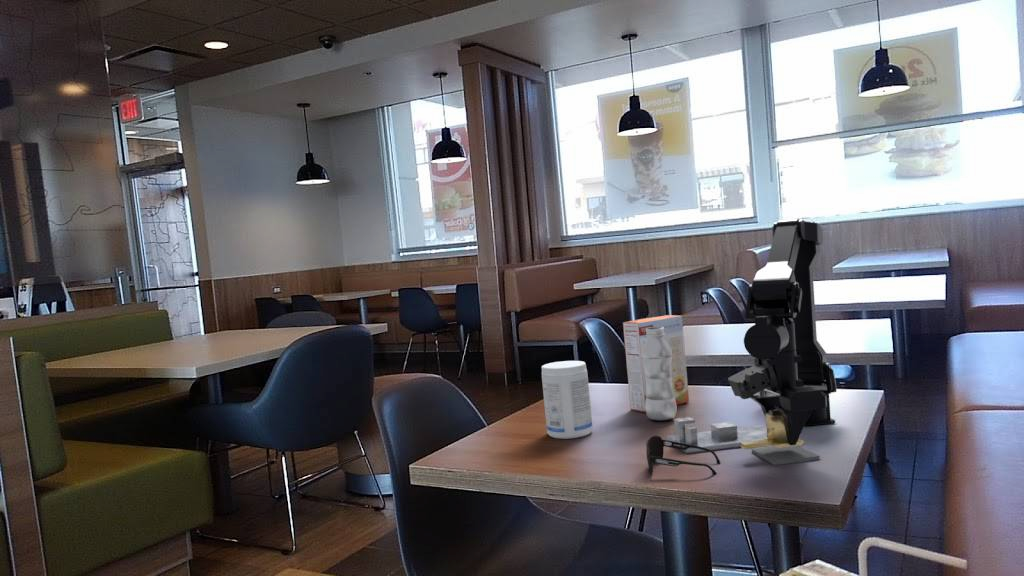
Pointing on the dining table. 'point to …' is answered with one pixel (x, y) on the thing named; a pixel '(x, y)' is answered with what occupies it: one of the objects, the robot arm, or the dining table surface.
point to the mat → (785, 454)
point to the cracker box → (635, 368)
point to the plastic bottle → (658, 376)
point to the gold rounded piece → (772, 433)
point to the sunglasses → (657, 446)
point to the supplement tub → (566, 399)
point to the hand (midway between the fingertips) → (784, 440)
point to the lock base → (727, 442)
